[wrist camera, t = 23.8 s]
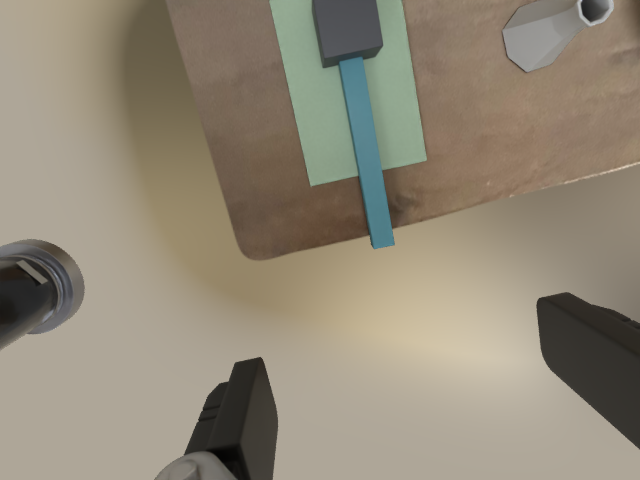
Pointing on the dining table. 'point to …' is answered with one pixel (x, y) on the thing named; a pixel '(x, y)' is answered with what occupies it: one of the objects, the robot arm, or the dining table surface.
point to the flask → (549, 29)
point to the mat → (328, 99)
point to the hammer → (357, 95)
